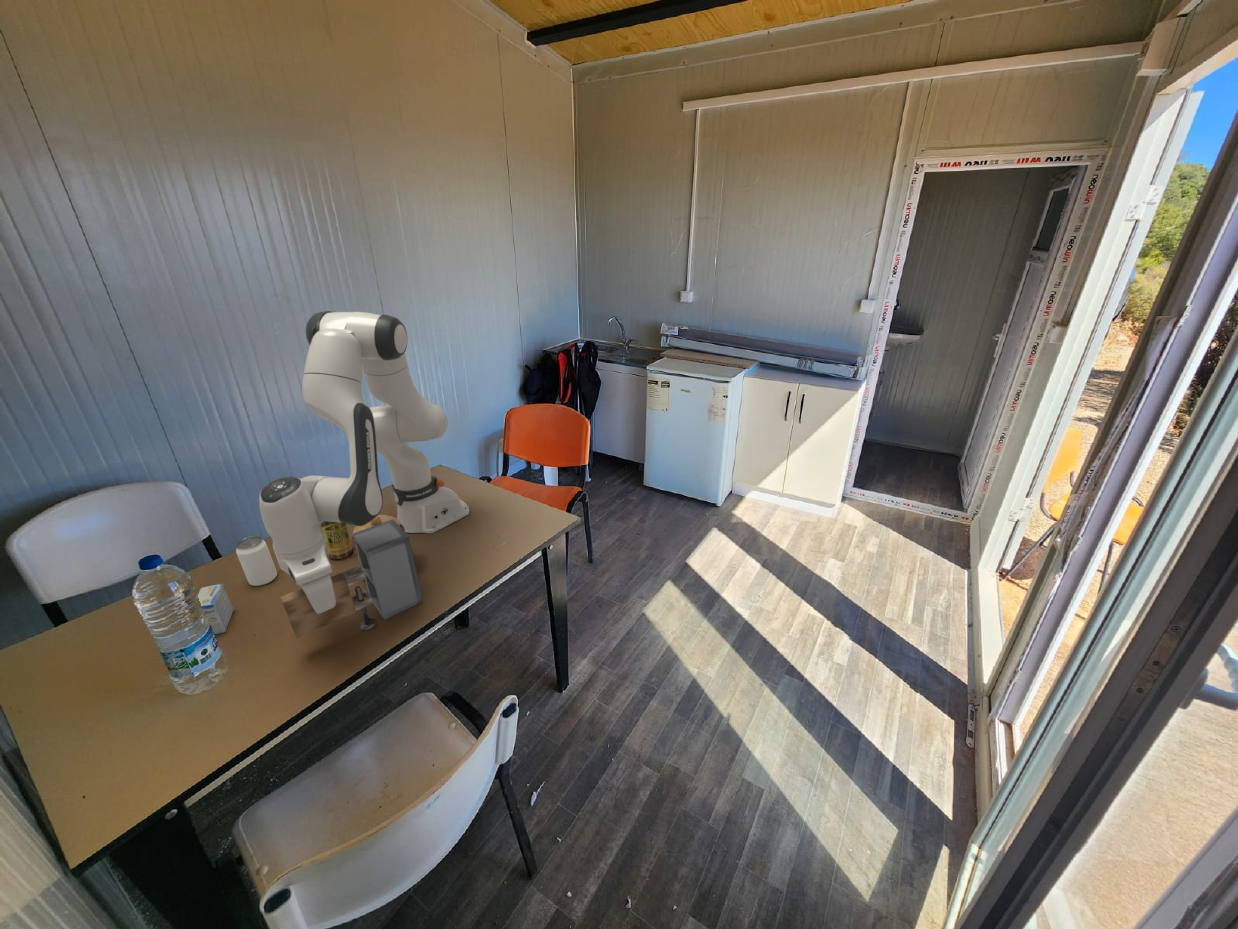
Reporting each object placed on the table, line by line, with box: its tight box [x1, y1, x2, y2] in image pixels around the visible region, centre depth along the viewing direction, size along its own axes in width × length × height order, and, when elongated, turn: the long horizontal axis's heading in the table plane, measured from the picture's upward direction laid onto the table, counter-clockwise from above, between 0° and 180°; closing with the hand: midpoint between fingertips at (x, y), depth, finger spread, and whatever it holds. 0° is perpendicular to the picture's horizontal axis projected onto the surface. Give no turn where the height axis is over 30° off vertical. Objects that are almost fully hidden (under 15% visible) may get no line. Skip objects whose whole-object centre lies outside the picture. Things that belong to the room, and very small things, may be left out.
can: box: [235, 535, 278, 587], centre depth 129 cm, size 6×6×12 cm
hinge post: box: [354, 585, 377, 631], centre depth 115 cm, size 4×4×12 cm
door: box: [280, 565, 374, 639], centre depth 109 cm, size 16×4×10 cm, turn 133°
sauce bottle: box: [320, 521, 353, 560], centre depth 138 cm, size 6×6×20 cm
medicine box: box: [197, 583, 235, 635], centre depth 116 cm, size 8×4×9 cm, turn 23°
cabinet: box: [352, 519, 423, 621], centre depth 121 cm, size 10×10×20 cm
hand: (319, 604), depth 108 cm, fingers closed on door, 2 cm apart
